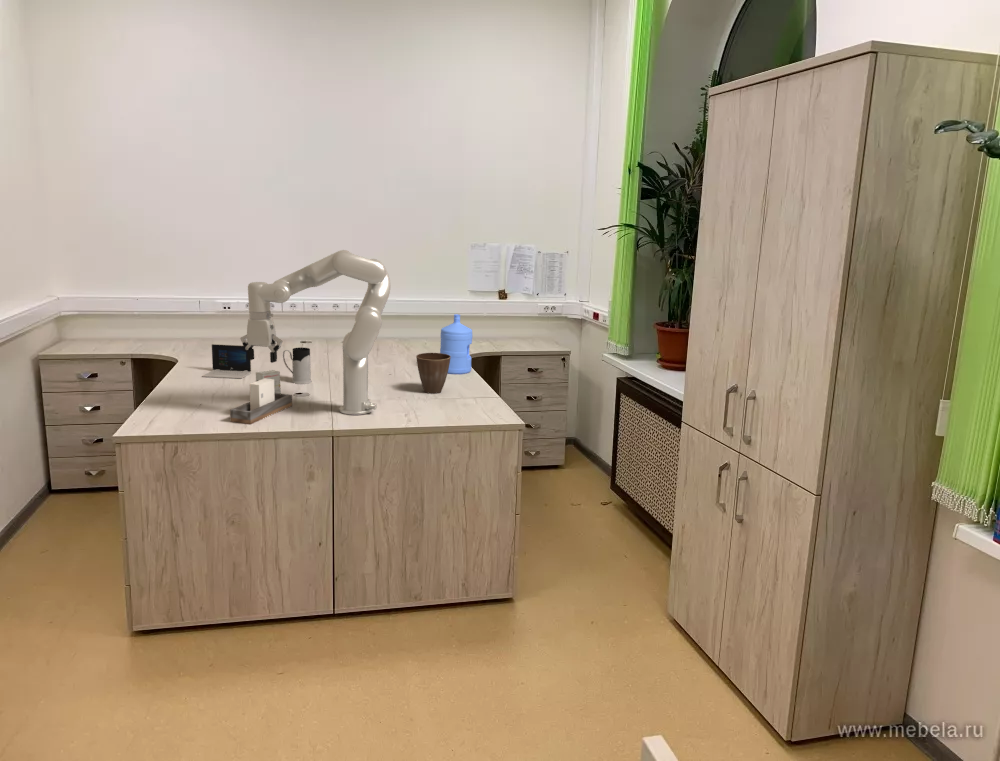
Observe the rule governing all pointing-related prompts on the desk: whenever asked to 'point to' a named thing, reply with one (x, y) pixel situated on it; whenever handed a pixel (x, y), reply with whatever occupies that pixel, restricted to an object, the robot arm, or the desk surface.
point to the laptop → (229, 362)
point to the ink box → (270, 375)
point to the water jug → (457, 346)
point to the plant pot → (433, 371)
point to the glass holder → (300, 365)
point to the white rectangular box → (261, 393)
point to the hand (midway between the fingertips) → (262, 360)
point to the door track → (260, 409)
